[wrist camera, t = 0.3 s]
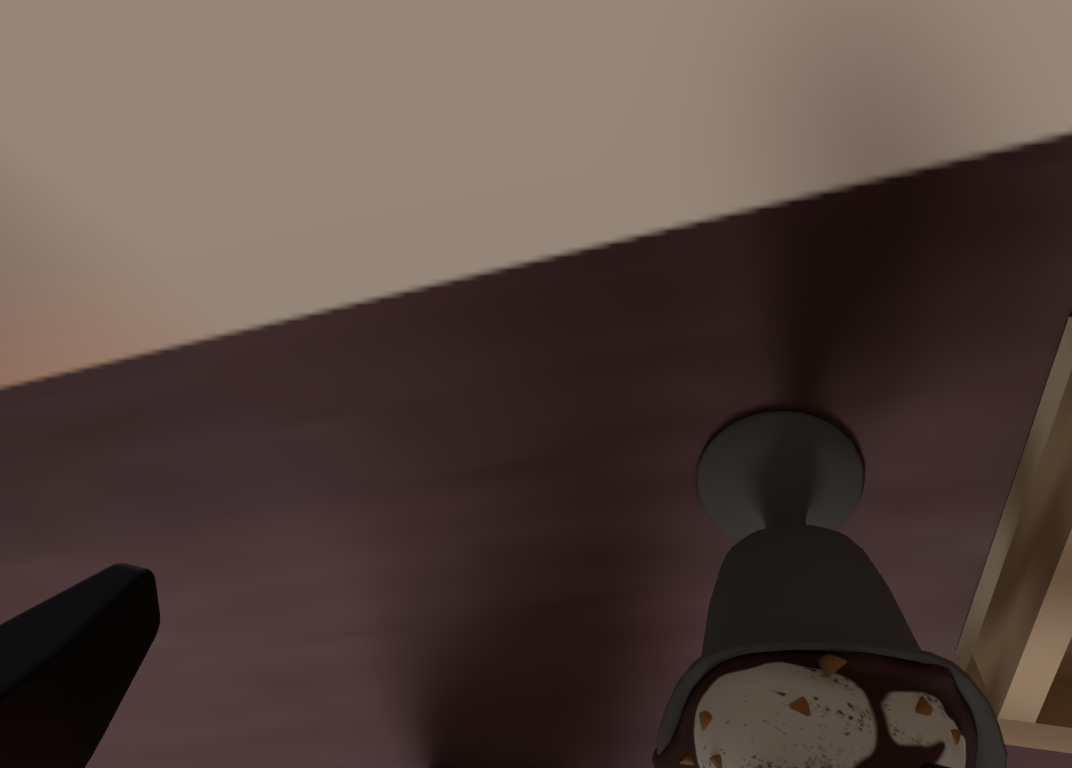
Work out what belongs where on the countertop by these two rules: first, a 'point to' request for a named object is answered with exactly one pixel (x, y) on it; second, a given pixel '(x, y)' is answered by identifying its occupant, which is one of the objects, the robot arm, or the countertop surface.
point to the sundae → (810, 627)
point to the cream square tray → (1031, 584)
